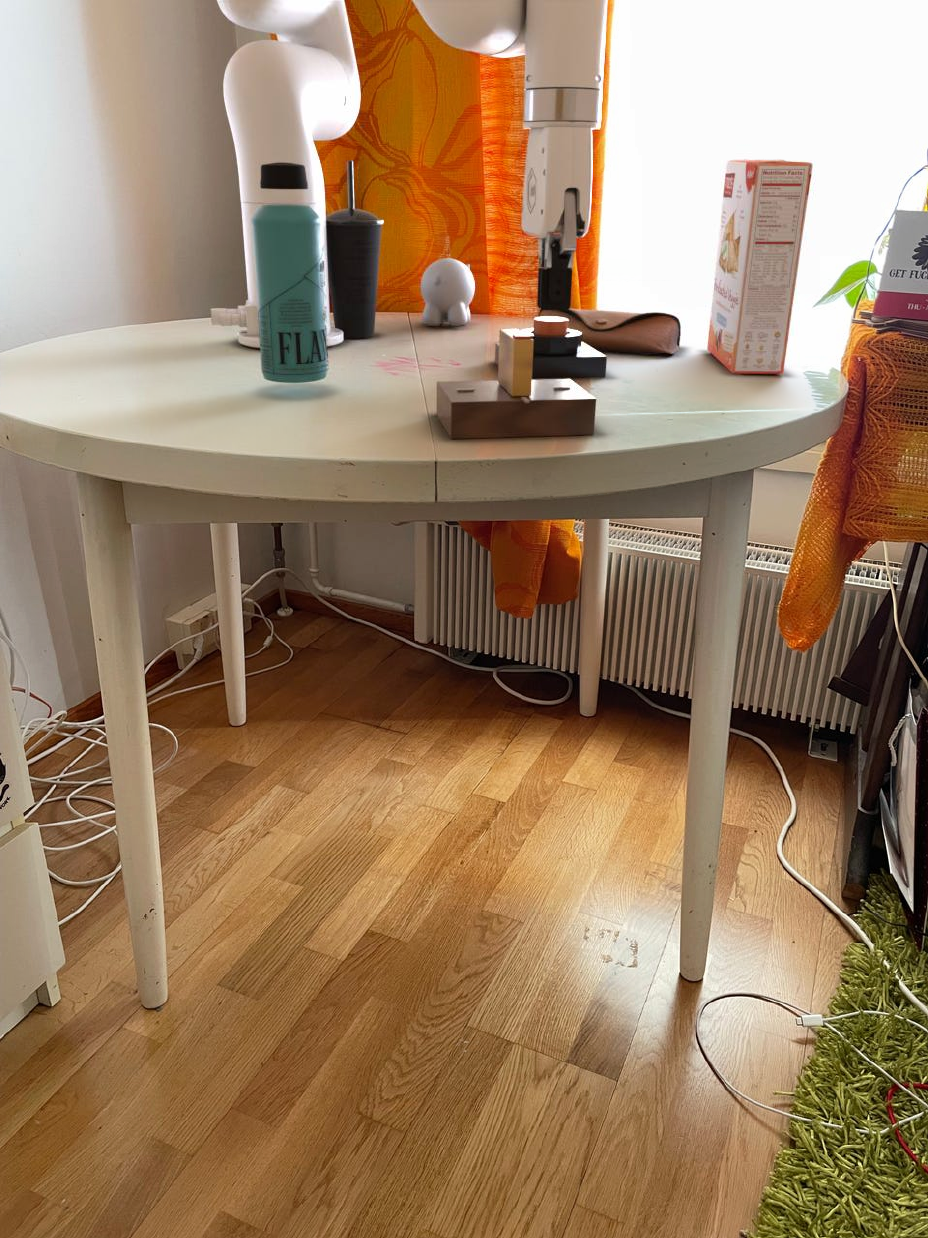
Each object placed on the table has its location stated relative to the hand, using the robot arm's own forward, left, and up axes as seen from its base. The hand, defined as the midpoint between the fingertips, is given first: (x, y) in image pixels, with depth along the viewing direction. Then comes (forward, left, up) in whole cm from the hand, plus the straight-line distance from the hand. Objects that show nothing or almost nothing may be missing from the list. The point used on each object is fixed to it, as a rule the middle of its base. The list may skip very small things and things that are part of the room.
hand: (553, 308), depth 103 cm
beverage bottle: (-27, -8, -7) cm, 29 cm away
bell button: (0, 0, -3) cm, 3 cm away
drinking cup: (-19, +24, -7) cm, 32 cm away
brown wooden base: (-9, -23, -6) cm, 25 cm away
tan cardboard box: (-9, -23, -3) cm, 25 cm away
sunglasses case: (+10, +13, -7) cm, 18 cm away
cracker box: (+23, +2, -7) cm, 24 cm away
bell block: (0, 0, -6) cm, 6 cm away
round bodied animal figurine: (-5, +34, -7) cm, 35 cm away
